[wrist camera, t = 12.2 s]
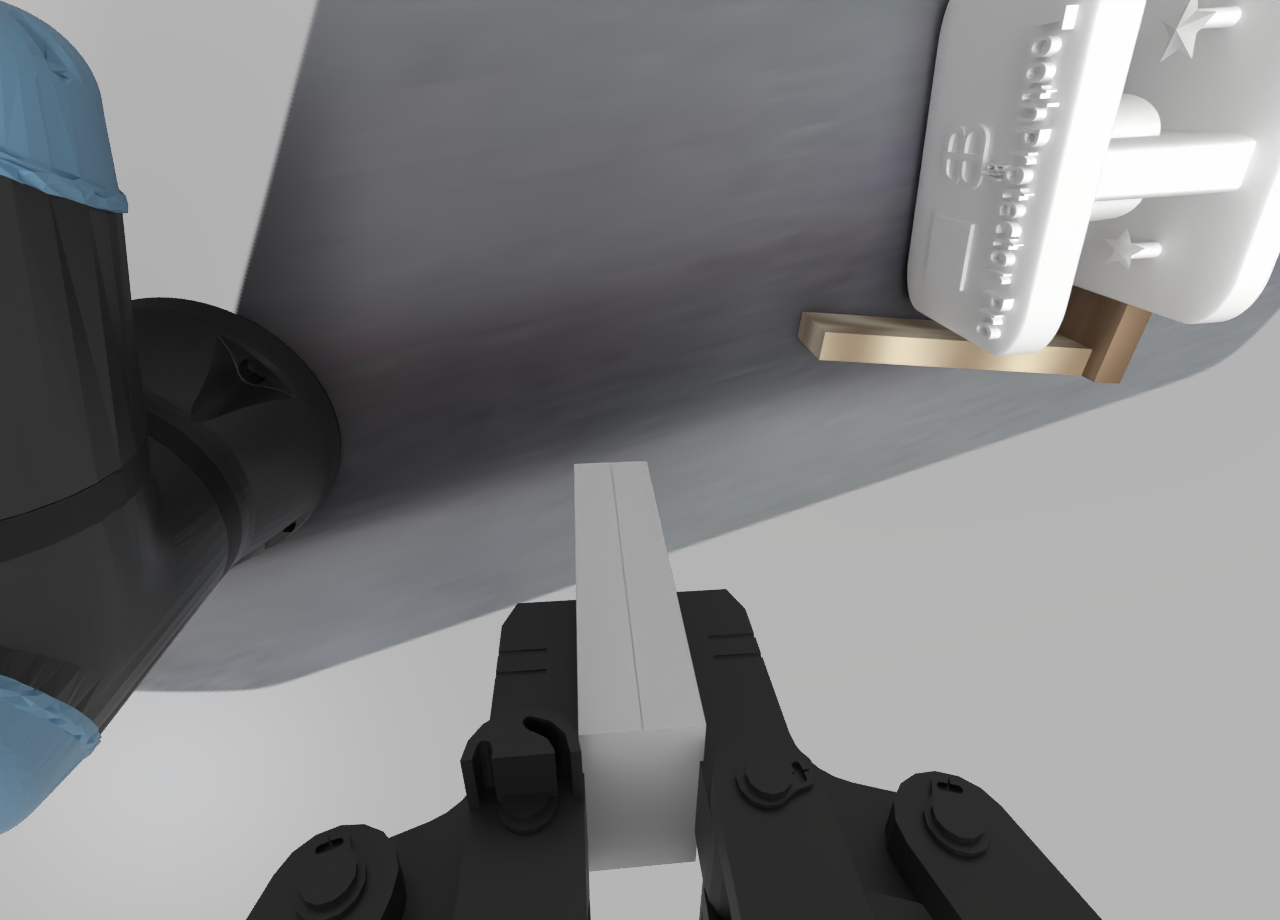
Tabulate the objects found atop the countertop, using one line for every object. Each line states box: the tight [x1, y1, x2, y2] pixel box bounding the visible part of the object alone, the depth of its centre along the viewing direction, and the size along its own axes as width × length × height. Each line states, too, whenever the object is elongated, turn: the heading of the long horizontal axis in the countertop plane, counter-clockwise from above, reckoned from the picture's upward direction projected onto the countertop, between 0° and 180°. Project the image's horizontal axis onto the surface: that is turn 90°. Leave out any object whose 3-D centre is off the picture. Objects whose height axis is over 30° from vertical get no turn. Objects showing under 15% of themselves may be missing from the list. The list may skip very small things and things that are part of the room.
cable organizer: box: [907, 0, 1280, 356], centre depth 29 cm, size 15×11×12 cm
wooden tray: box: [797, 285, 1152, 383], centre depth 31 cm, size 16×23×5 cm
